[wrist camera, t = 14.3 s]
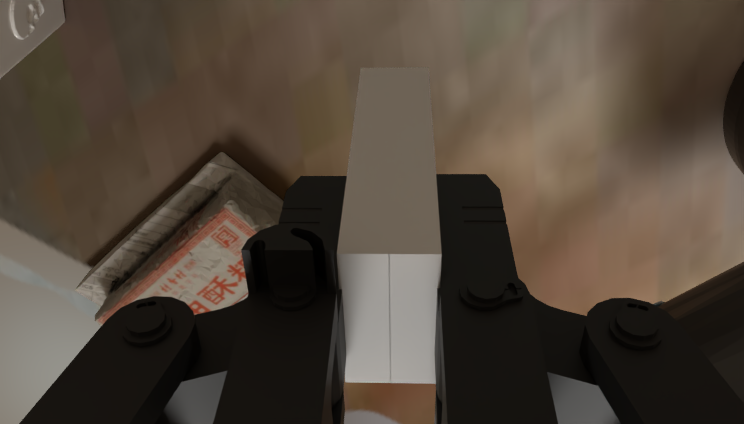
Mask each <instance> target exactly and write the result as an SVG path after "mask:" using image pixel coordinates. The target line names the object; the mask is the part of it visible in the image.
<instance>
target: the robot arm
mask: <svg viewBox="0 0 744 424" xmlns="http://www.w3.org/2000/svg"><path fill="white" fill-rule="evenodd" d="M723 129H724V137H725V142H726V145H727V148H728V151H729V153H730V155H731V157H732V159H733V161H734V162H735V163H736V165H737V166H738V168H739V169H740V170H741V172H742V173H743V174H744V62H743V64H742V65H741V67H740V69H739V70H738V72H737V74H736V76H735V78H734V80H733V83H732V85H731V87H730V90H729V93H728V96H727V100H726V104H725V109H724V118H723ZM241 253H242V258H243V264H244V270H245V276H246V282H247V288H248V297H247V298H245V299H244V300H242V301H240V302H238V303H236V304H234V305H231V306H228V307H225V308H222V309H218V310H214V311H209V312H205V313H200V314H196V315H194V312H193V310H192V309H191V308H190V307H189V306H188V305H187V304H186V303H185V302H184V301H181V300H178V299H176V298H173V297H164V296H153V297H148V298H144V299H139V300H136V301H134V302H132V303H130V304H128V305H125V306H123V307H121V308H120V309H119V310H117V311H116V312H115V313H114V314H113V315H112V316H110V317H109V318H108V319H107V320H106V321H105V323H104V324H103V325H102V326H101V328H100V329H99V330H98V331H97V332H96V333H95V335H94V336H93V337H92V338H91V339H90V341H89V342H88V343H87V344H86V345H85V346H84V348H83V349H82V350H81V351H80V352H79V353H78V355H77V356H76V357H75V358H74V360H73V361H72V362H71V363H70V364H69V366H68V367H67V368H66V369H65V370H64V371H63V372H62V374H61V375H60V376H59V377H58V378H57V380H56V381H55V382H54V383H53V384H52V386H51V387H50V388H49V389H48V390H47V391H46V393H45V394H44V395H43V396H42V398H41V399H40V400H39V401H38V402H37V403H36V405H35V406H34V407H33V408H32V409H31V411H30V412H29V413H28V414H27V415H26V416H25V418H24V419H23V420H22V421H21V422H20V423H19V424H344V414H345V405H344V391H343V387H344V376H345V381H346V382H364V383H434V384H436V402H435V424H744V262H742V263H740V264H739V265H737V266H735V267H733V268H731V269H729V270H727V271H725V272H723V273H721V274H719V275H717V276H715V277H713V278H711V279H710V280H708V281H706V282H704V283H702V284H700V285H698V286H696V287H694V288H692V289H690V290H688V291H686V292H684V293H683V294H681V295H679V296H677V297H675V298H673V299H671V300H669V301H667V302H662V301H660V302H657V303H655V304H651V303H649V302H645V301H641V300H636V299H632V298H612V299H609V300H606V301H603V302H600V303H597V304H596V305H595V306H594V307H593V308H592V309H591V310H590V311H589V312H588V314H587V316H584V315H580V314H576V313H572V312H567V311H563V310H560V309H557V308H554V307H551V306H548V305H546V304H544V303H542V302H541V301H539V300H537V299H535V298H534V297H533V296H532V295H530V293H529V291H528V289H527V287H526V285H525V284H524V283H523V282H522V281H521V280H520V279H519V278H518V276H517V271H516V266H515V261H514V257H513V252H512V247H511V242H510V237H509V232H508V227H507V224H506V217H505V212H504V210H503V203H502V198H501V193H500V189H499V188H498V187H497V186H496V185H495V184H494V183H493V182H492V181H491V179H490V178H489V177H488V176H487V175H486V174H436V165H435V151H434V136H433V121H432V107H431V92H430V78H429V68H361V71H360V79H359V86H358V94H357V102H356V109H355V117H354V125H353V133H352V140H351V148H350V156H349V163H348V171H347V176H301V177H300V178H299V179H298V180H297V181H296V182H295V183H294V184H293V185H292V186H291V187H290V188H289V189H288V190H287V191H286V194H285V198H284V202H283V206H282V211H281V214H280V218H279V224H278V225H274V226H271V227H268V228H265V229H263V230H260V231H259V232H257V233H256V234H254V235H253V236H252V237H250V238H249V239H248V240H247V241H246V243H245V244H244V246H243V248H242V249H241Z"/></svg>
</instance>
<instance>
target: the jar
mask: <svg viewBox="0 0 744 424" xmlns="http://www.w3.org/2000/svg"><path fill="white" fill-rule="evenodd" d="M64 22H65V14H64V6H63V0H0V78H2V77H3V76H4V75H5V74H6V73H7V72H8V71H10V70H11V69H12V68H13V67H14V66H15V65H16V64H18V63H19V62H20V61H21V60H22V59H23V58H25V57H26V56H27V55H28V54H29V53H30V52H31V51H33V50H34V49H35V48H36V47H37V46H38V45H39V44H41V43H42V42H43V41H44V40H45V39H46V38H48V37H49V36H50V35H51V34H52V33H53V32H54V31H56V30H57V29H58V28H59V27H60V26H61V25H62V24H64Z"/></svg>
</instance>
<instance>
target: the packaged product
mask: <svg viewBox="0 0 744 424" xmlns="http://www.w3.org/2000/svg"><path fill="white" fill-rule="evenodd" d="M283 202H284V201H283V200H282V199H280V198H279V197H278V196H277V195H275V194H274V193H273V192H271V191H270V190H269V189H267V188H266V187H265V186H264V185H263V184H262V183H260V182H259V181H258V180H257V179H256V178H255V177H253V176H252V175H251V174H250V173H248V172H247V171H246V170H245V169H244V168H242V167H241V166H240V165H239V164H237V163H236V162H235V161H234V160H232V159H231V158H230V157H229V156H227V155H226V154H225V153H224V152H220V153H219V154H217V155H216V156H215V157H214V158H213V159H212V160H210V161H209V162H208V163H207V164H206V165H205V166H204V167H203V168H202V169H201V170H200V171H199V172H198V173H197V174H196V175H195V176H194V177H193V178H192V179H191V180H190V181H188V182H187V183H186V184H185V185H183V186H182V187H181V188H180V189H179V190H177V191H176V192H175V193H174V194H173V195H171V196H170V197H169V198H168V199H167V200H166V201H165V202H164V203H163V204H161V205H160V206H159V207H158V208H157V209H156V210H155V211H154V212H152V213H151V214H150V215H149V216H148V217H147V218H146V219H144V220H143V221H142V222H141V223H140V224H139V225H138V226H137V227H135V228H134V229H133V230H132V231H131V232H130V233H129V234H128V235H127V236H126V237H125V238H124V239H123V240H122V241H120V242H119V243H118V244H117V245H116V246H115V247H114V248H113V249H112V250H111V251H110V252H109V253H108V254H107V255H106V256H105V257H104V258H103V259H102V260H101V261H100V262H99V263H98V264H97V265H95V266H94V267H93V268H92V269H91V270H90V271H89V273H88V274H87V275H86V276H85V278H84V279H83V280H82V282H81V283H80V284H79V285H78V287H77V288H76V289H75V291H77V292H78V293H80V294H81V295H83V296H85V297H86V298H88V299H89V300H91V301H93V302H95V303H97V304H98V305H100V306H101V308H100V309H99V311H98V312H97V313H96V315H95V321H97V322H98V324H99V325H101V326H102V325H103V324H104V323H105V321H106V320H107V319H108V318H109V317H110V316H112V315H113V314H114V313H115V312H116V311H117V310H119V309H120V308H121V307H123V306H125V305H128V304H130V303H132V302H134V301H136V300H139V299H144V298H148V297H153V296H164V297H173V298H176V299H178V300H181V301H184V302H185V303H186V304H187V305H188V306H189V307H190V308H191V309H192V310H193V312H194V315H196V314H200V313H205V312H209V311H214V310H218V309H222V308H225V307H228V306H231V305H234V304H236V303H238V302H240V301H242V300H244V299H245V298H247V297H248V288H247V282H246V276H245V270H244V264H243V258H242V253H241V249H242V248H243V246H244V244H245V243H246V241H247V240H248V239H249V238H250V237H252V236H253V235H254V234H256V233H257V232H259V231H260V230H263V229H265V228H268V227H271V226H274V225H278V224H279V218H280V214H281V211H282V206H283Z"/></svg>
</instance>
